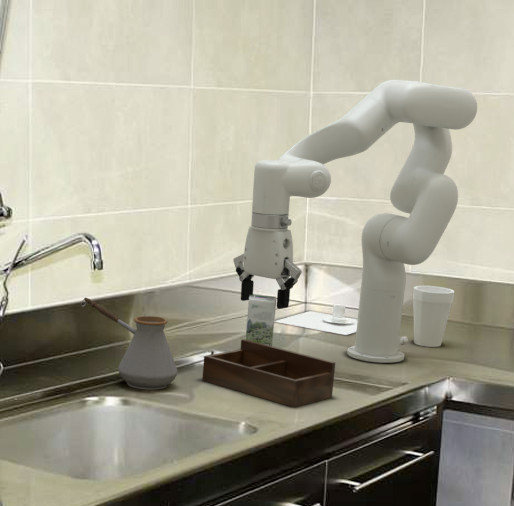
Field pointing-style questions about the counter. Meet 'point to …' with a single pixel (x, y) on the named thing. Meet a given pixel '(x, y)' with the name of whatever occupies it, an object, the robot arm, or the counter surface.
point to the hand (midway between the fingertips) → (264, 303)
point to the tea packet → (261, 319)
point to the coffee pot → (145, 352)
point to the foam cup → (431, 314)
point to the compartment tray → (271, 373)
